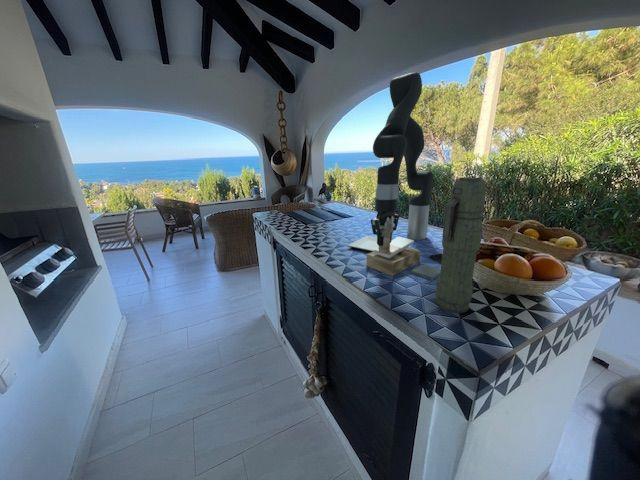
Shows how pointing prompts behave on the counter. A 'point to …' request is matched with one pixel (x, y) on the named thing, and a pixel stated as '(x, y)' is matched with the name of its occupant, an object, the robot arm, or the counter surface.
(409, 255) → the switch block
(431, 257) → the phone
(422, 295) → the counter surface
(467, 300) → the thermos
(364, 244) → the plate
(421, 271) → the slate pad
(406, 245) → the white flat slab
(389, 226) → the dowel
